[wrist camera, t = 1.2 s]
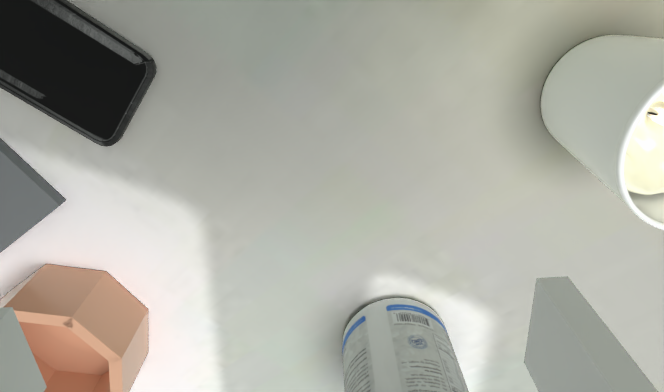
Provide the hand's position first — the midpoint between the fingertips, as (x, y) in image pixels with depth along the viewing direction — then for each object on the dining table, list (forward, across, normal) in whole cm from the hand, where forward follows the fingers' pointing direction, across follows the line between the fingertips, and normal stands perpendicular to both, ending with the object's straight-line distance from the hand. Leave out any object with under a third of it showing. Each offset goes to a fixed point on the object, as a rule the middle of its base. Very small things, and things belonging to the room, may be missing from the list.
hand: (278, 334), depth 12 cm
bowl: (+24, -22, -19) cm, 38 cm away
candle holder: (+25, +21, -1) cm, 33 cm away
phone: (+25, -18, +5) cm, 32 cm away
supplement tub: (+25, +6, -22) cm, 34 cm away
